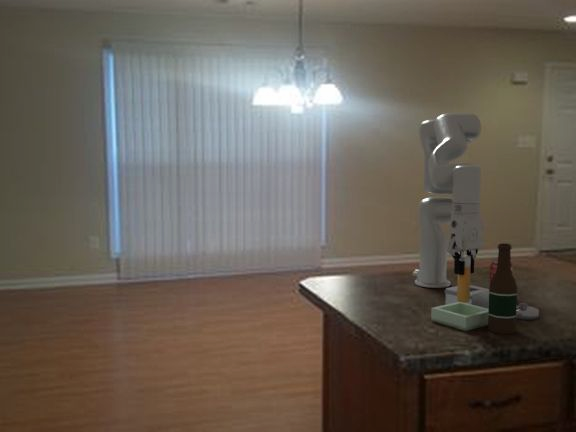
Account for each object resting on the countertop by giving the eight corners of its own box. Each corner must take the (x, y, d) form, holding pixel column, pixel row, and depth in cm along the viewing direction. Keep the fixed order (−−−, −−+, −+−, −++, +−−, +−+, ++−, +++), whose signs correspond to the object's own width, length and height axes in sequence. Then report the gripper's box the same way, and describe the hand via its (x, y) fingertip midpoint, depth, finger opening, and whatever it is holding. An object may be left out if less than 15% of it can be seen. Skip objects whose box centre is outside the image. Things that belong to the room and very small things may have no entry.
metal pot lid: (500, 314, 193) (500, 302, 192) (518, 310, 198) (518, 298, 198) (526, 321, 185) (527, 309, 185) (544, 316, 191) (545, 304, 190)
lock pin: (464, 303, 182) (465, 257, 180) (454, 300, 184) (455, 255, 183) (472, 301, 183) (473, 256, 182) (462, 299, 186) (463, 254, 185)
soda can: (513, 303, 205) (515, 263, 204) (490, 302, 207) (491, 263, 205) (510, 298, 212) (512, 259, 211) (487, 297, 214) (489, 259, 212)
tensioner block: (444, 307, 201) (444, 288, 200) (467, 302, 208) (467, 283, 207) (469, 314, 193) (470, 294, 192) (493, 308, 200) (494, 289, 199)
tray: (431, 320, 186) (431, 307, 186) (459, 313, 194) (459, 301, 193) (465, 330, 176) (466, 317, 176) (493, 323, 184) (494, 310, 183)
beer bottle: (482, 326, 180) (485, 242, 178) (509, 326, 181) (512, 241, 178) (493, 335, 173) (496, 246, 170) (521, 334, 173) (525, 246, 171)
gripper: (457, 212, 173) (455, 279, 175) (495, 208, 183) (493, 272, 185) (435, 209, 179) (434, 274, 181) (473, 206, 189) (472, 268, 191)
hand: (464, 272), depth 183 cm, fingers closed on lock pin, 3 cm apart
